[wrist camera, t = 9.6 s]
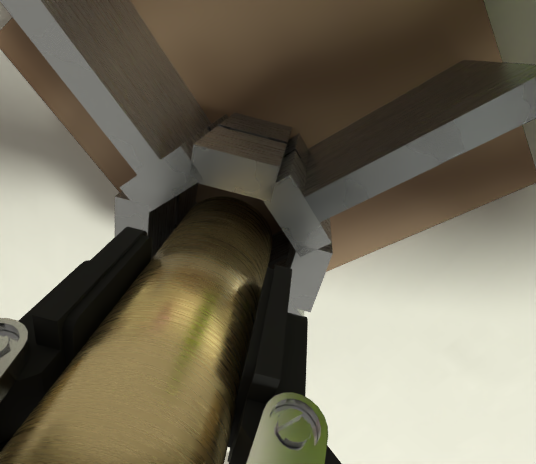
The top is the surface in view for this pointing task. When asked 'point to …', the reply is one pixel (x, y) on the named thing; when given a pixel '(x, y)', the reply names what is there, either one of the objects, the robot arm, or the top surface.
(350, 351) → the top surface
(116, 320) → the hinge pin
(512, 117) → the hinge
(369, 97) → the hinge base
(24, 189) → the top surface
